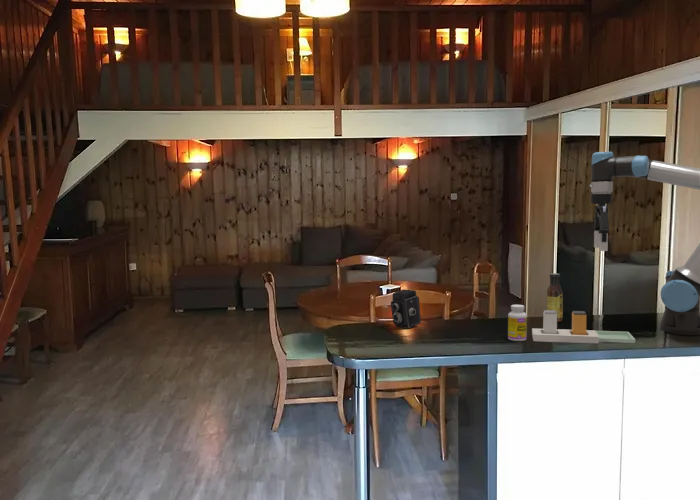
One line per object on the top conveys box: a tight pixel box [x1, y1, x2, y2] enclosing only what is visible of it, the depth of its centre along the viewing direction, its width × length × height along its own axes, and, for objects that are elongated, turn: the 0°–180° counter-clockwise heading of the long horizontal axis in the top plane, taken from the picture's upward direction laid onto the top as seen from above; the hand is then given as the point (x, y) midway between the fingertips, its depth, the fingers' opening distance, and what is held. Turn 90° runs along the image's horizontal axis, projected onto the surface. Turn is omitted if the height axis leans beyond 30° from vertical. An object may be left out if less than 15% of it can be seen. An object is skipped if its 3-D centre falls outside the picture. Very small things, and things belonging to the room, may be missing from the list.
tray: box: [595, 330, 636, 344], centre depth 221 cm, size 12×12×2 cm
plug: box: [571, 310, 587, 335], centre depth 220 cm, size 4×4×10 cm
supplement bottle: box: [507, 304, 528, 342], centre depth 223 cm, size 7×7×13 cm
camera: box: [390, 289, 422, 329], centre depth 248 cm, size 11×11×15 cm
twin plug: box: [542, 309, 558, 334], centre depth 222 cm, size 4×4×10 cm
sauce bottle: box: [546, 272, 564, 323], centre depth 253 cm, size 7×6×20 cm
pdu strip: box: [531, 327, 600, 344], centre depth 221 cm, size 22×10×3 cm, turn 76°
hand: (600, 249), depth 232 cm, fingers open, 13 cm apart
